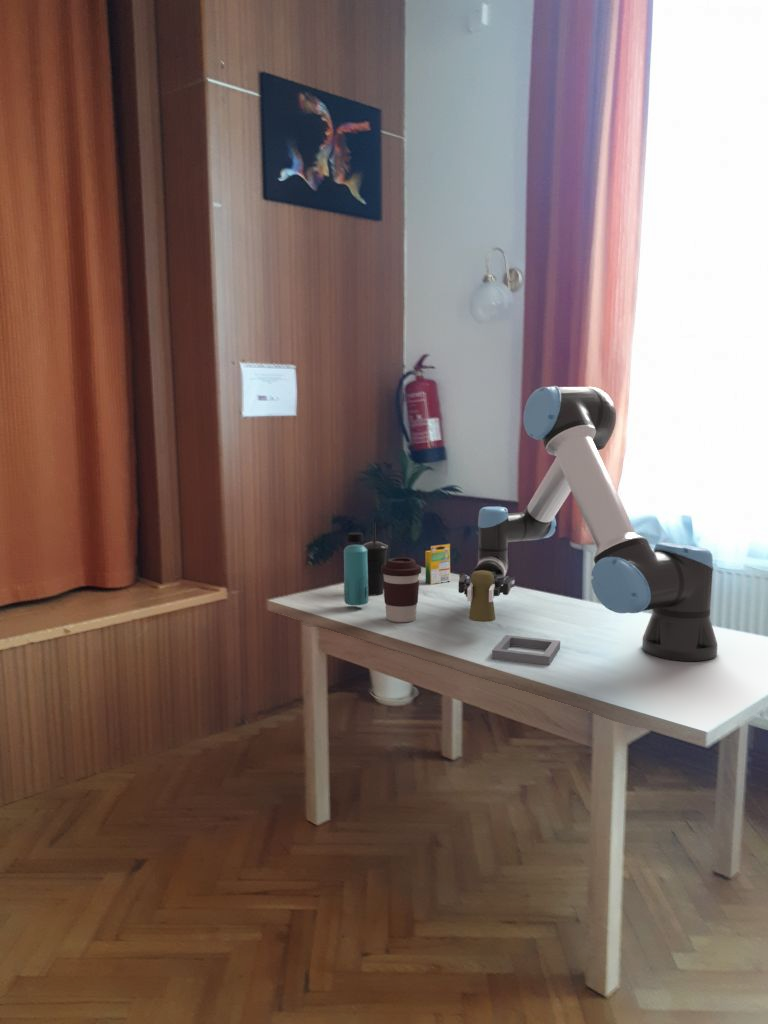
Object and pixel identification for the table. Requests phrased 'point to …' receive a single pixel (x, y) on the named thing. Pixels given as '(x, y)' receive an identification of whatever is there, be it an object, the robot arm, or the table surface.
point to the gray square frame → (529, 657)
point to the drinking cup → (375, 564)
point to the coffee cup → (401, 588)
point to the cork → (481, 597)
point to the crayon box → (438, 564)
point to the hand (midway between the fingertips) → (479, 595)
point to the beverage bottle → (355, 571)
